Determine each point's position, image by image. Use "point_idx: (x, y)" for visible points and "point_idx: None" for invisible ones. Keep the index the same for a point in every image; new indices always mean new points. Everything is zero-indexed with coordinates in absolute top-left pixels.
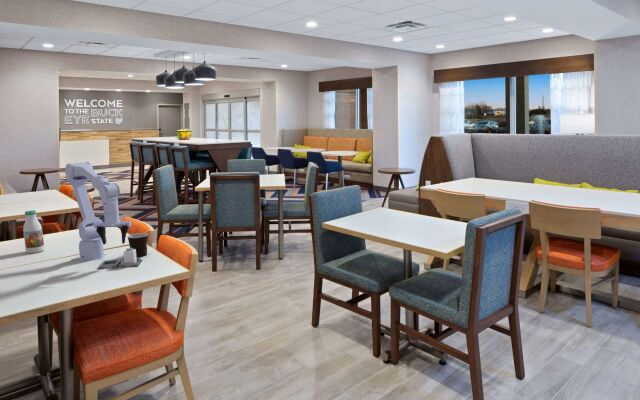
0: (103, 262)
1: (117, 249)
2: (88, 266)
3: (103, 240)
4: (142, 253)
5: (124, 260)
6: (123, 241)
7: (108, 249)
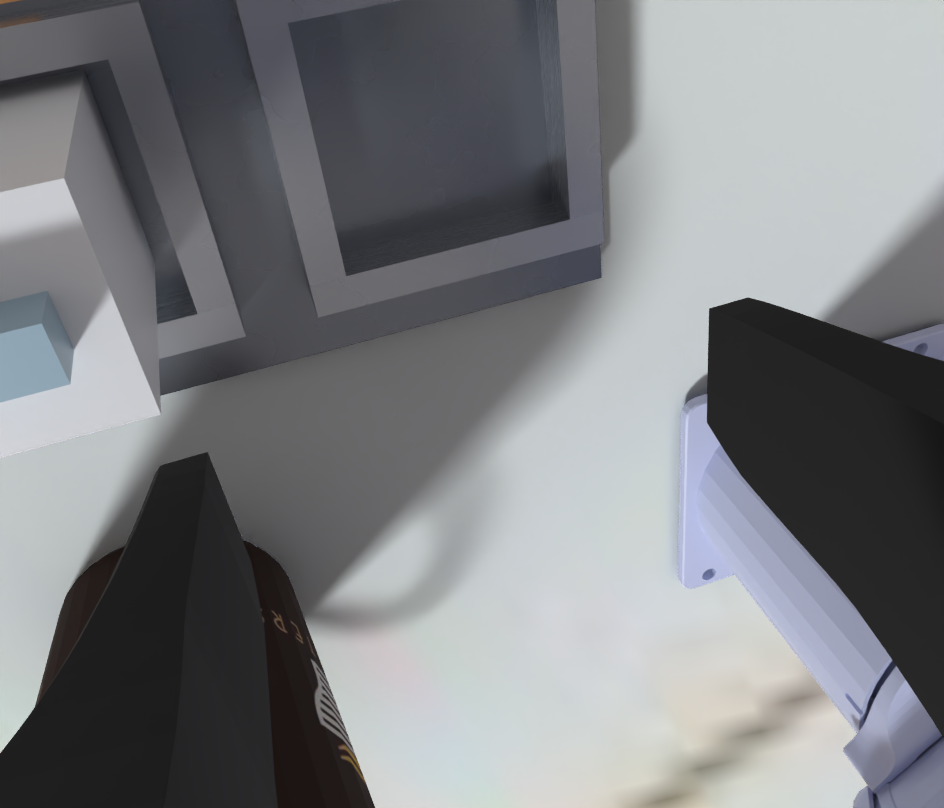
0: (580, 133)
1: (627, 759)
2: (801, 117)
3: (813, 344)
4: (65, 634)
5: (76, 106)
6: (153, 497)
7: (722, 737)
